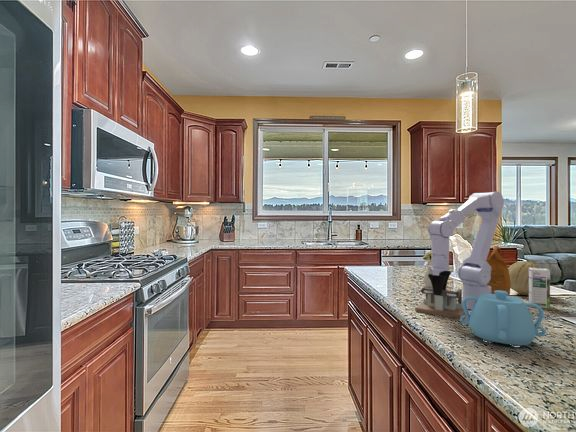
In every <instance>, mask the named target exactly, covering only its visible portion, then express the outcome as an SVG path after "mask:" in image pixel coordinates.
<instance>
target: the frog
mask: <svg viewBox="0 0 576 432" xmlns="http://www.w3.org/2000/svg"><path fill="white" fill-rule="evenodd" d="M422 259H423V260H424V261H426V262H427V263H428V265H427V267H426V270H425V271H424V286H426V285H429V288H432V289H433V287H432V283H431V280H430V278H429V277H428V274H429V273H430V274H433V270H432V269H431V268H428V266H431V251H427V252H426V253H425V254H424V255H423V256H422ZM424 286H420V290H419V291H421V292H422V288H423V287H424ZM446 290H448V291H452V289H451V288H447V287H446Z"/></svg>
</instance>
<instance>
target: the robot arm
mask: <svg viewBox="0 0 576 432" xmlns="http://www.w3.org/2000/svg"><path fill="white" fill-rule="evenodd" d="M504 206H505V199H504V197H503V195H502V193H501V192H500V191H490V192H487V191H486V192H474V193H472V194H471V195H469V197H468V199H467V200H466V202H464V203H463V204H462V205H461V206H460V207H458V209H455V208H453V209H449V210H448V211H447V213H446V214H444V215H443V216H440V218H439V219H438V220H434V221H431V223H429V225H428V228H427V232H428V235H429V237H430V238H429V240H430V241H431V251H430V252H431V266H428V265H427V267H428V268H431V269H432V270H433V274H430V273H429V274H428V277H429V278H430V280H431V283H432V287H433V292H434V295H441V293H442V290H446V288H447V285H448V282H449V279H450V277H451V274H452V271H450V237H452V236H453V234H454V231H455V230H456V228H457V227H459V226H460V225H462V223H464V222H465V219H466V218H465V217H466V216H468V215H469V214H471V213H473V212H475V213H476V214H477V215H478V216H479V217H480V218H481V221H480V225H479V227H478V231H477V234H476V237H475V240H474V243H473V247H472V249H471V252H470V254H469V255H470V256H469V257H466V258H464V259H463V260H462V263H461V265H460V266H459V267H458V270H457V277H458V278H459V280H460V282H461V283H462V300H463V299H464V298H466V297H468V296H475V297H477V298H478V297H479V295H481V294H492V290H491V286H486V285H487V284H488V283H489V281H490V279H491V266H490V265H489V264H488V263H487V261H488V256H489V253H490V249H491V247H492V243H493V240H494V236H495V233H496V229H497V227H498V223H499V221H500V216H501V214H502V212H503V208H504ZM475 302H476V300H467V301H466V306H467V310H470V311H471V310H472V307H473V305H474V303H475Z"/></svg>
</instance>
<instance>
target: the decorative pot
mask: <svg viewBox="0 0 576 432" xmlns="http://www.w3.org/2000/svg"><path fill="white" fill-rule="evenodd" d="M494 293H495V294H481V295H479V297H478V298H477V297H475V296H468V297H466V298H464V299H463V298H462V306H463V310H464V312H465V315H463V316H461V318H460V319H459V320H460V322H461V323H462V324H463V325H465V326H469V328H470V330H471V331H472V333H473V334H474V335H475V336H476V337H478V338H479V339H481V340H482V339H483V340H484V341H487V342H486V343H488V342H492V343H493V342H494V343H499V344H504V345H509V344H511V345H513V346H521V347H522V346H528V345H530V344H531V343H532V342H533V341H534V339H535V337H544V336H545V335H546V334H547V333H546V332H547V330H546V329H545V327H543V326H540V325H541V323H542V321H543V320H544V315H545V312H544V308H541V307H540V306H539V305H537V304H535V303H529V302H525V301H524V300H523V299H522V298H520V297H517V296H512V295H510V296H507V295H508V292H506V291H501V290H495V291H494ZM467 300H476V302H475V303H474V305H473V307H472V310H471V309H470V312H469V309H467V306H466V301H467ZM529 307H532V308H534V309H536V310H537V311H538V316H537V319H536V321H534V319H533V316H532V313H531V311H530V309H529ZM465 319H466V320H465ZM538 330H541V332H539V331H538ZM484 341H483V342H484Z"/></svg>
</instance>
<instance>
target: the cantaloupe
mask: <svg viewBox="0 0 576 432" xmlns="http://www.w3.org/2000/svg"><path fill="white" fill-rule="evenodd" d="M529 267H530V268H542V267H541V266H540V265H538V264H536V263H534V260H531V261H526V260H525V261H523V260H520V261H517V262H515V263H512V264H511V265H510V266H508V269H509V275H510V283H511V288H510V290H512V291H514V292H516V293H517V294H519V295H522V296H529Z"/></svg>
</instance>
